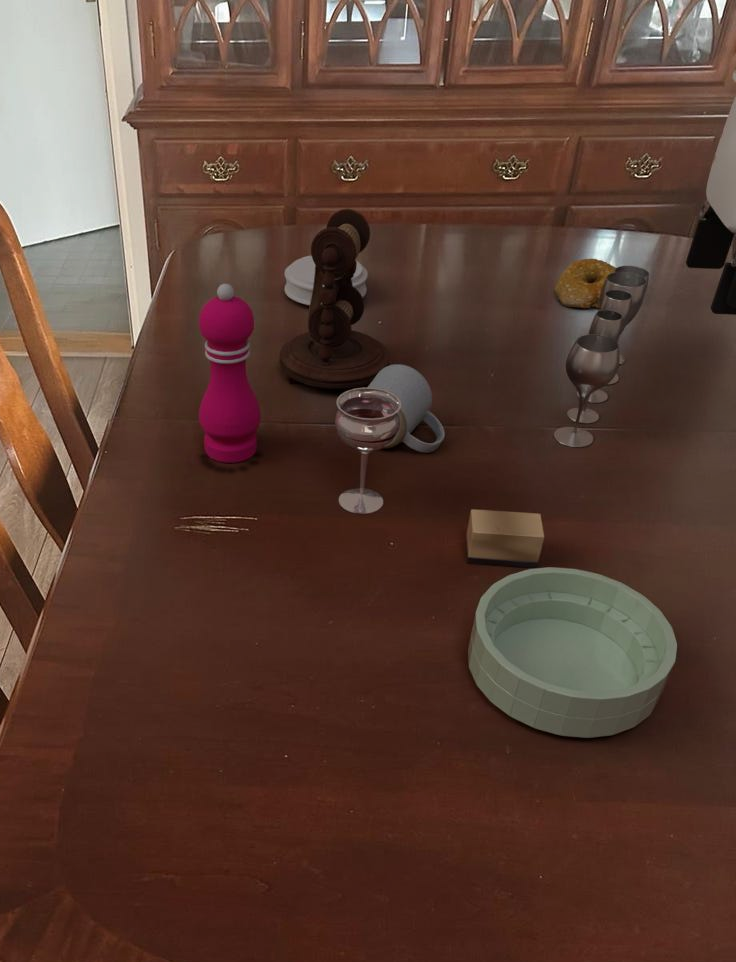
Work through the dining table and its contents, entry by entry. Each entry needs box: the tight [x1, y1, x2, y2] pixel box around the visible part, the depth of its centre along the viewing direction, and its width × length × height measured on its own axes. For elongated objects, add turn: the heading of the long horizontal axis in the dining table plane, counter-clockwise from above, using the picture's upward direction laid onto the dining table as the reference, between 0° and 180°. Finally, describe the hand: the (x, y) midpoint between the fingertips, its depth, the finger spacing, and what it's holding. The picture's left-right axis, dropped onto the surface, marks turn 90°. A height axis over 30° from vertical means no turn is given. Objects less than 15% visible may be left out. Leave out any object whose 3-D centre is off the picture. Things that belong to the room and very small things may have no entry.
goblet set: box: [553, 265, 650, 448], centre depth 115 cm, size 28×6×13 cm, turn 154°
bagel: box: [554, 258, 617, 309], centre depth 140 cm, size 10×11×5 cm
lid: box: [284, 254, 368, 306], centre depth 142 cm, size 13×13×5 cm
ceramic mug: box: [366, 363, 446, 454], centre depth 110 cm, size 11×8×8 cm
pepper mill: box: [198, 283, 262, 464], centre depth 104 cm, size 7×7×20 cm
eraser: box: [465, 508, 545, 569], centre depth 94 cm, size 7×4×4 cm, turn 83°
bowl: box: [467, 566, 678, 739], centre depth 81 cm, size 17×17×6 cm
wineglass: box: [334, 387, 401, 515], centre depth 99 cm, size 7×7×12 cm
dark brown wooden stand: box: [279, 208, 391, 389], centre depth 118 cm, size 15×15×20 cm
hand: (716, 289), depth 80 cm, fingers open, 9 cm apart
